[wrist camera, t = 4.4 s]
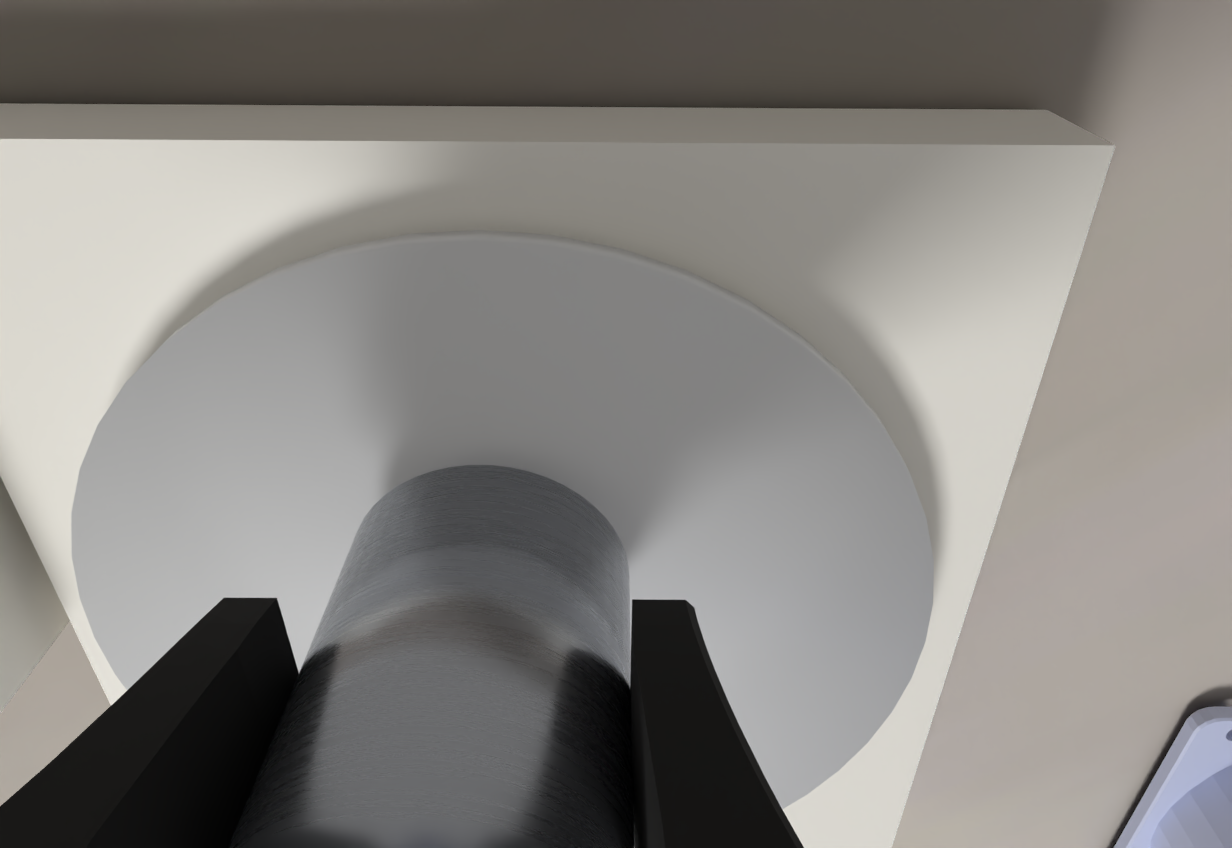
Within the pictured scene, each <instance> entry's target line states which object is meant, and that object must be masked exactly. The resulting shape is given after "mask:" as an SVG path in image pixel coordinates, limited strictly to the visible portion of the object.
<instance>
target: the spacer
mask: <svg viewBox="0 0 1232 848" xmlns="http://www.w3.org/2000/svg"><path fill="white" fill-rule="evenodd" d="M630 674H631V641H630V586H629V567H628V561H627V556H626V553H625V550H624V547H623V544H622V542H621V540H620V539H619V537H618V535H617V533H616V531H615V530H614V528H613V527H612V526H611V524H610V523H609V521H608V520H607V519H606V517H605V516H604V515H603V514H602V513H601V512H600V511H599V510H598V509H597V508H596V507H595V506H594V505H592V504H591V503H590V502H589V501H587V500H586V499H585V498H583V497H582V496H581V495H580V494H578V493H576V492H575V491H573V490H571V489H570V488H568V487H566V486H565V485H563V484H560V483H558V482H556V481H554V480H552V479H549V478H547V477H544V476H541V475H538V474H535V473H532V472H529V471H525V470H520V469H516V468H511V467H504V466H495V465H464V466H455V467H448V468H444V469H439V470H435V471H431V472H428V473H425V474H422V475H419V476H417V477H414V478H412V479H410V480H408V481H406V482H404V483H402V484H400V485H398V486H397V487H395V488H394V489H393V490H391V491H390V492H388V493H387V494H385V495H384V496H383V497H382V498H381V499H380V500H379V501H378V502H377V503H376V504H375V505H374V506H373V507H372V508H371V509H370V511H369V512H368V513H367V515H366V516H365V517H364V519H363V521H362V523H361V525H360V527H359V528H358V530H357V533H356V535H355V538H354V540H353V543H352V545H351V547H350V550H349V552H348V555H347V557H346V560H345V562H344V565H343V567H342V569H341V572H340V574H339V577H338V579H337V582H336V584H335V587H334V589H333V592H332V594H331V596H330V599H329V601H328V604H327V606H326V609H325V611H324V614H323V616H322V618H321V621H320V623H319V626H318V628H317V631H316V633H315V636H314V638H313V641H312V643H311V645H310V648H309V650H308V653H307V655H306V658H305V660H304V663H303V665H302V667H301V670H300V672H299V675H298V677H297V680H296V682H295V685H294V687H293V690H292V692H291V694H290V697H289V699H288V702H287V704H286V707H285V709H284V712H283V714H282V716H281V719H280V721H279V724H278V726H277V729H276V731H275V734H274V736H273V739H272V741H271V743H270V746H269V748H268V751H267V753H266V756H265V758H264V761H263V763H262V765H261V768H260V770H259V773H258V775H257V778H256V780H255V783H254V785H253V788H252V790H251V792H250V795H249V797H248V800H247V802H246V805H245V807H244V810H243V812H242V814H241V817H240V819H239V822H238V824H237V827H236V829H235V832H234V834H233V837H232V839H231V841H230V844H229V846H228V848H634V807H633V776H632V762H631V707H630Z"/></svg>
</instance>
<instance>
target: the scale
mask: <svg viewBox="0 0 1232 848" xmlns="http://www.w3.org/2000/svg"><path fill="white" fill-rule="evenodd" d="M1115 146H1116V145H1114V144H1112V143H1110V142H1108V141H1106V140H1104V139H1102V138H1100V137H1098V136H1096V135H1095V134H1093V133H1091V132H1089V131H1087V130H1085V129H1083V128H1081V127H1079V126H1077V125H1075V124H1073V123H1071V122H1070V121H1068V120H1066V119H1064V118H1062V117H1060V116H1058V115H1056V114H1054V113H1052V112H1050V111H1048V110H997V109H831V108H666V107H501V106H336V105H171V104H6V103H0V713H1V712H2V711H3V709H4V708H5V707H6V705H7V704H8V703H9V701H10V700H11V699H12V697H13V696H14V695H15V693H16V692H17V691H18V689H19V688H20V687H21V685H22V684H23V683H24V681H25V680H26V679H27V677H28V676H29V675H30V673H31V672H32V671H33V669H34V668H35V667H36V665H37V664H38V663H39V661H40V660H41V659H42V657H43V656H44V655H45V653H46V652H47V651H48V649H49V648H50V647H51V645H52V644H53V642H54V641H55V640H56V638H57V637H58V636H59V634H60V633H61V632H62V630H63V629H64V628H65V626H66V625H67V624H68V622H69V621H70V622H71V624H72V626H73V628H74V630H75V632H76V634H77V636H78V638H79V640H80V642H81V644H82V647H83V649H84V651H85V653H86V655H87V657H88V659H89V661H90V663H91V665H92V667H93V669H94V671H95V674H96V676H97V678H98V680H99V682H100V684H101V686H102V688H103V690H104V692H105V694H106V696H107V698H108V701H109V703H110V705H112V704H113V703H115V702H116V701H117V700H118V699H119V698H120V697H121V696H122V695H123V694H124V693H125V692H126V691H127V690H128V689H129V688H130V687H131V686H132V685H133V684H134V683H135V682H136V681H137V680H138V679H140V678H141V677H142V676H143V675H144V674H145V673H146V672H147V671H148V670H149V669H150V668H151V667H152V666H153V665H154V664H155V663H156V662H157V661H158V660H159V659H160V658H161V657H162V656H163V655H164V654H165V653H166V652H167V651H168V650H169V649H171V648H172V647H173V646H174V645H175V644H176V643H177V642H178V641H179V640H180V639H181V638H182V637H183V636H184V635H185V634H186V633H187V632H188V631H189V630H190V629H191V628H192V627H193V626H194V625H195V624H197V623H198V622H199V621H200V620H201V619H202V618H203V617H204V616H205V615H206V614H207V613H208V612H209V611H210V610H211V609H212V608H213V607H215V606H216V605H217V604H218V603H219V602H220V601H221V600H222V599H223V598H277V600H278V603H279V607H280V610H281V614H282V617H283V620H284V624H285V627H286V631H287V634H288V638H289V641H290V644H291V648H292V651H293V655H294V658H295V662H296V665H297V669H298V672H300V670H301V667H302V665H303V663H304V660H305V658H306V655H307V653H308V650H309V648H310V645H311V643H312V641H313V638H314V636H315V633H316V631H317V628H318V626H319V623H320V621H321V618H322V616H323V614H324V611H325V609H326V606H327V604H328V601H329V599H330V596H331V594H332V592H333V589H334V587H335V584H336V582H337V579H338V577H339V574H340V572H341V569H342V567H343V565H344V562H345V560H346V557H347V555H348V552H349V550H350V547H351V545H352V543H353V540H354V538H355V535H356V533H357V530H358V528H359V527H360V525H361V523H362V521H363V519H364V517H365V516H366V515H367V513H368V512H369V511H370V509H371V508H372V507H373V506H374V505H375V504H376V503H377V502H378V501H379V500H380V499H381V498H382V497H383V496H384V495H385V494H387V493H388V492H390V491H391V490H393V489H394V488H395V487H397V486H398V485H400V484H402V483H404V482H406V481H408V480H410V479H412V478H414V477H417V476H419V475H422V474H425V473H428V472H431V471H435V470H439V469H444V468H448V467H455V466H464V465H495V466H504V467H511V468H516V469H520V470H525V471H529V472H532V473H535V474H538V475H541V476H544V477H547V478H549V479H552V480H554V481H556V482H558V483H560V484H563V485H565V486H566V487H568V488H570V489H571V490H573V491H575V492H576V493H578V494H580V495H581V496H582V497H583V498H585V499H586V500H587V501H589V502H590V503H591V504H592V505H594V506H595V507H596V508H597V509H598V510H599V511H600V512H601V513H602V514H603V515H604V516H605V517H606V519H607V520H608V521H609V523H610V524H611V526H612V527H613V528H614V530H615V531H616V533H617V535H618V537H619V539H620V540H621V542H622V544H623V547H624V550H625V553H626V556H627V561H628V567H629V586H630V641H631V627H632V599H643V600H686V601H688V602H689V603H690V604H691V605H692V606H693V607H694V608H695V612H696V616H697V620H698V623H699V626H700V630H701V633H702V636H703V639H704V642H705V645H706V647H707V650H708V653H709V656H710V658H711V661H712V663H713V666H714V668H715V671H716V673H717V676H718V678H719V680H720V683H721V685H722V688H723V690H724V692H725V695H726V697H727V699H728V702H729V704H730V706H731V708H732V711H733V713H734V715H735V717H736V719H737V721H738V724H739V726H740V728H741V730H742V732H743V734H744V736H745V738H746V740H747V742H748V744H749V746H750V748H751V750H752V752H753V754H754V756H755V758H756V760H757V762H758V764H759V766H760V768H761V770H762V772H763V774H764V776H765V778H766V780H767V782H768V784H769V786H770V787H771V789H772V791H773V793H774V795H775V797H776V799H777V800H778V802H779V804H780V806H781V808H782V810H783V812H784V813H785V815H786V817H787V819H788V820H789V822H790V824H791V826H792V827H793V829H794V831H795V833H796V834H797V836H798V838H799V840H800V841H801V843H802V845H803V847H804V848H892V845H893V842H894V839H895V835H896V832H897V829H898V826H899V823H900V820H901V817H902V814H903V810H904V807H905V804H906V801H907V798H908V795H909V792H910V788H911V785H912V782H913V779H914V776H915V773H916V770H917V767H918V763H919V760H920V757H921V754H922V751H923V748H924V745H925V741H926V738H927V735H928V732H929V729H930V726H931V723H932V720H933V716H934V713H935V710H936V707H937V704H938V701H939V698H940V694H941V691H942V688H943V685H944V682H945V679H946V676H947V673H948V669H949V666H950V663H951V660H952V657H953V654H954V651H955V647H956V644H957V641H958V638H959V635H960V632H961V629H962V626H963V622H964V619H965V616H966V613H967V610H968V607H969V604H970V600H971V597H972V594H973V591H974V588H975V585H976V582H977V579H978V575H979V572H980V569H981V566H982V563H983V560H984V557H985V553H986V550H987V547H988V544H989V541H990V538H991V535H992V532H993V528H994V525H995V522H996V519H997V516H998V513H999V510H1000V506H1001V503H1002V500H1003V497H1004V494H1005V491H1006V488H1007V485H1008V481H1009V478H1010V475H1011V472H1012V469H1013V466H1014V463H1015V459H1016V456H1017V453H1018V450H1019V447H1020V444H1021V441H1022V438H1023V434H1024V431H1025V428H1026V425H1027V422H1028V419H1029V416H1030V412H1031V409H1032V406H1033V403H1034V400H1035V397H1036V394H1037V391H1038V387H1039V384H1040V381H1041V378H1042V375H1043V372H1044V369H1045V365H1046V362H1047V359H1048V356H1049V353H1050V350H1051V347H1052V344H1053V340H1054V337H1055V334H1056V331H1057V328H1058V325H1059V322H1060V318H1061V315H1062V312H1063V309H1064V306H1065V303H1066V300H1067V297H1068V293H1069V290H1070V287H1071V284H1072V281H1073V278H1074V275H1075V271H1076V268H1077V265H1078V262H1079V259H1080V256H1081V253H1082V249H1083V246H1084V243H1085V240H1086V237H1087V234H1088V231H1089V228H1090V224H1091V221H1092V218H1093V215H1094V212H1095V209H1096V206H1097V202H1098V199H1099V196H1100V193H1101V190H1102V187H1103V184H1104V181H1105V177H1106V174H1107V171H1108V168H1109V165H1110V162H1111V159H1112V155H1113V152H1114V149H1115ZM634 848H635V847H634Z"/></svg>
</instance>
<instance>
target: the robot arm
mask: <svg viewBox="0 0 1232 848" xmlns="http://www.w3.org/2000/svg"><path fill="white" fill-rule="evenodd" d="M298 675H299V672H298V669H297V665H296V662H295V658H294V655H293V651H292V648H291V644H290V641H289V638H288V634H287V631H286V627H285V624H284V620H283V617H282V614H281V610H280V607H279V603H278V600H277V598H223V599H222V600H221V601H220V602H219V603H218V604H217V605H216V606H215V607H213V608H212V609H211V610H210V611H209V612H208V613H207V614H206V615H205V616H204V617H203V618H202V619H201V620H200V621H199V622H198V623H197V624H195V625H194V626H193V627H192V628H191V629H190V630H189V631H188V632H187V633H186V634H185V635H184V636H183V637H182V638H181V639H180V640H179V641H178V642H177V643H176V644H175V645H174V646H173V647H172V648H171V649H169V650H168V651H167V652H166V653H165V654H164V655H163V656H162V657H161V658H160V659H159V660H158V661H157V662H156V663H155V664H154V665H153V666H152V667H151V668H150V669H149V670H148V671H147V672H146V673H145V674H144V675H143V676H142V677H141V678H140V679H138V680H137V681H136V682H135V683H134V684H133V685H132V686H131V687H130V688H129V689H128V690H127V691H126V692H125V693H124V694H123V695H122V696H121V697H120V698H119V699H118V700H117V701H116V702H115V703H113V704H112V705H111V706H110V707H109V708H108V709H107V710H106V711H105V712H104V713H103V714H102V715H101V716H100V717H99V718H97V719H96V720H95V721H94V722H93V723H92V724H91V725H90V726H89V727H88V728H87V729H86V730H85V731H84V732H82V733H81V734H80V735H79V736H78V737H77V738H76V739H75V740H74V741H73V742H72V743H71V744H70V745H69V746H67V747H66V748H65V749H64V750H63V751H62V752H61V753H60V754H59V755H58V756H57V757H56V758H55V759H54V760H52V761H51V762H50V763H49V764H48V765H47V766H46V767H45V768H44V769H42V770H41V771H40V772H39V773H38V774H37V775H36V776H34V777H33V778H32V779H31V780H30V781H29V782H28V783H26V784H25V785H24V786H23V787H22V788H21V789H20V790H18V791H17V792H16V793H15V794H14V795H13V796H12V797H10V798H9V799H8V800H7V801H6V802H5V803H4V804H2V805H1V806H0V848H228V846H229V844H230V841H231V839H232V837H233V834H234V832H235V829H236V827H237V824H238V822H239V819H240V817H241V814H242V812H243V810H244V807H245V805H246V802H247V800H248V797H249V795H250V792H251V790H252V788H253V785H254V783H255V780H256V778H257V775H258V773H259V770H260V768H261V765H262V763H263V761H264V758H265V756H266V753H267V751H268V748H269V746H270V743H271V741H272V739H273V736H274V734H275V731H276V729H277V726H278V724H279V721H280V719H281V716H282V714H283V712H284V709H285V707H286V704H287V702H288V699H289V697H290V694H291V692H292V690H293V687H294V685H295V682H296V680H297V677H298ZM630 707H631V762H632V776H633V807H634V847H635V848H804V847H803V845H802V843H801V841H800V840H799V838H798V836H797V834H796V833H795V831H794V829H793V827H792V826H791V824H790V822H789V820H788V819H787V817H786V815H785V813H784V812H783V810H782V808H781V806H780V804H779V802H778V800H777V799H776V797H775V795H774V793H773V791H772V789H771V787H770V786H769V784H768V782H767V780H766V778H765V776H764V774H763V772H762V770H761V768H760V766H759V764H758V762H757V760H756V758H755V756H754V754H753V752H752V750H751V748H750V746H749V744H748V742H747V740H746V738H745V736H744V734H743V732H742V730H741V728H740V726H739V724H738V721H737V719H736V717H735V715H734V713H733V711H732V708H731V706H730V704H729V702H728V699H727V697H726V695H725V692H724V690H723V688H722V685H721V683H720V680H719V678H718V676H717V673H716V671H715V668H714V666H713V663H712V661H711V658H710V656H709V653H708V650H707V647H706V645H705V642H704V639H703V636H702V633H701V630H700V626H699V623H698V620H697V616H696V612H695V608H694V607H693V606H692V605H691V604H690V603H689V602H688V601H686V600H643V599H632V627H631V674H630ZM1114 848H1232V706H1213V707H1205V708H1202V709H1199V710H1197V711H1195V712H1194V713H1192V714H1191V715H1190V716H1189V717H1188V718H1187V720H1186V721H1185V723H1184V725H1183V727H1182V728H1181V730H1180V732H1179V734H1178V735H1177V737H1176V739H1175V741H1174V742H1173V744H1172V746H1171V748H1170V749H1169V751H1168V753H1167V755H1166V757H1165V758H1164V760H1163V762H1162V764H1161V765H1160V767H1159V769H1158V771H1157V772H1156V774H1155V776H1154V778H1153V779H1152V781H1151V783H1150V785H1149V786H1148V788H1147V790H1146V792H1145V793H1144V795H1143V797H1142V799H1141V800H1140V802H1139V804H1138V806H1137V808H1136V809H1135V811H1134V813H1133V815H1132V816H1131V818H1130V820H1129V822H1128V823H1127V825H1126V827H1125V829H1124V830H1123V832H1122V834H1121V836H1120V837H1119V839H1118V841H1117V843H1116V844H1115V846H1114Z"/></svg>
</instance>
